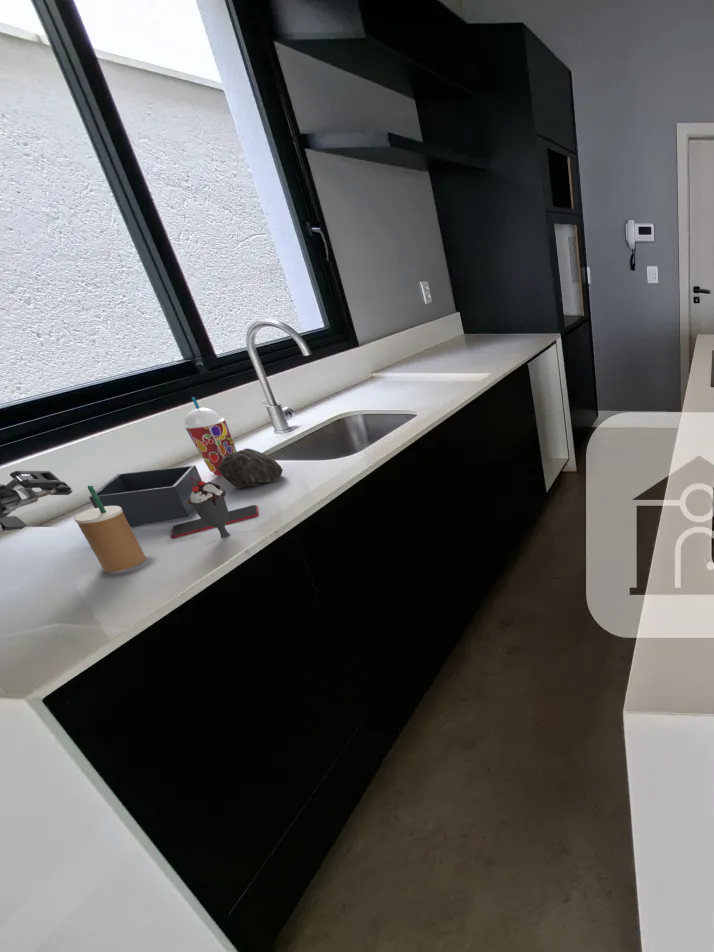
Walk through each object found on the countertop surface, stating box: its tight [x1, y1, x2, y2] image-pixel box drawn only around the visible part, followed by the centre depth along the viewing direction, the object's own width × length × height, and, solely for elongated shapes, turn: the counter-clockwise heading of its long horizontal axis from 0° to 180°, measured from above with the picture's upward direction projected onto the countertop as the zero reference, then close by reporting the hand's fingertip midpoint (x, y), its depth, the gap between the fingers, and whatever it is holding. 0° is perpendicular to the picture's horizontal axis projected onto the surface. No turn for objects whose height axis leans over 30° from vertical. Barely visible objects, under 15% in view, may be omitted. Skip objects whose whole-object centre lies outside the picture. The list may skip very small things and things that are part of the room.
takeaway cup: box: [73, 485, 147, 573], centre depth 103 cm, size 6×6×17 cm
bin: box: [88, 464, 203, 527], centre depth 126 cm, size 14×14×8 cm
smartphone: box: [170, 504, 259, 539], centre depth 122 cm, size 7×1×15 cm
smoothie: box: [183, 396, 238, 477], centre depth 144 cm, size 8×8×20 cm
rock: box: [218, 447, 284, 489], centre depth 140 cm, size 10×11×10 cm
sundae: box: [185, 477, 231, 539], centre depth 112 cm, size 7×7×15 cm
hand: (43, 505), depth 93 cm, fingers open, 8 cm apart
